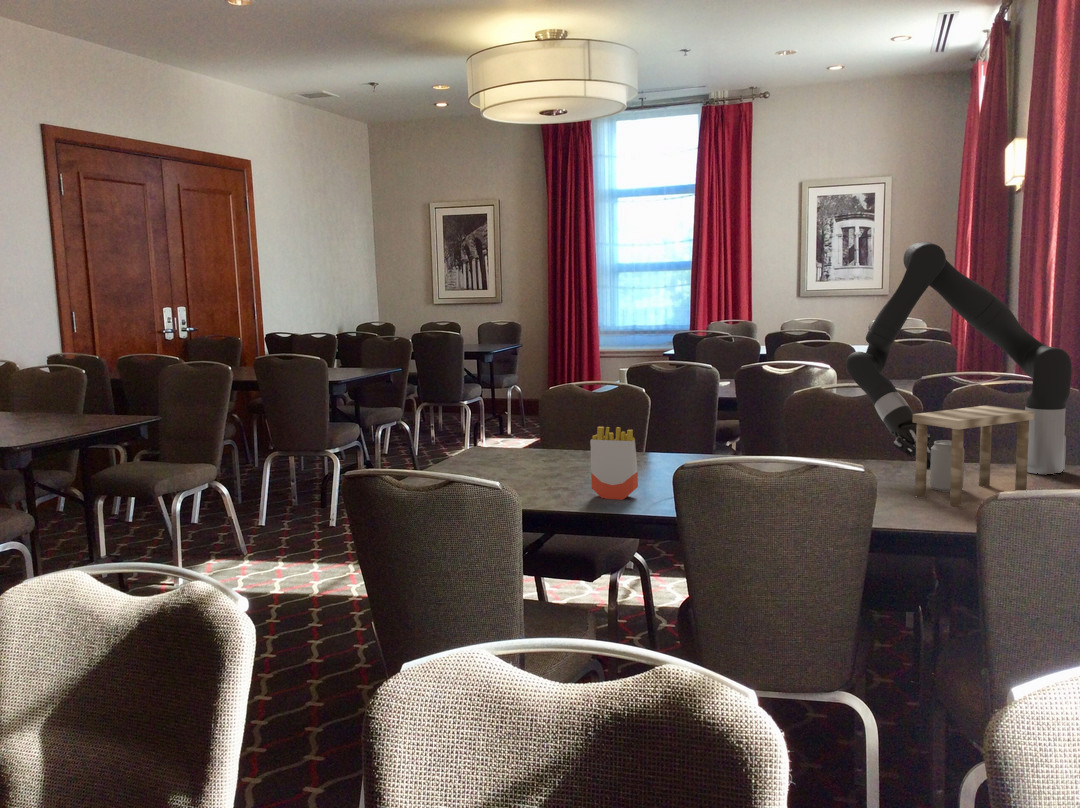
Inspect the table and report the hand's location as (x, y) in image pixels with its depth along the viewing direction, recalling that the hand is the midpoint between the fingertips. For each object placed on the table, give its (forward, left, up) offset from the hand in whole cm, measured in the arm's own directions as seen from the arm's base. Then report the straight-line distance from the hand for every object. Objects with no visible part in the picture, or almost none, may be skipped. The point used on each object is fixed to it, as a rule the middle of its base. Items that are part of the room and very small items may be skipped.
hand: (932, 467), depth 221 cm
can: (0, +4, -5) cm, 7 cm away
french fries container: (+73, -33, -5) cm, 80 cm away
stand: (0, +11, -5) cm, 12 cm away
